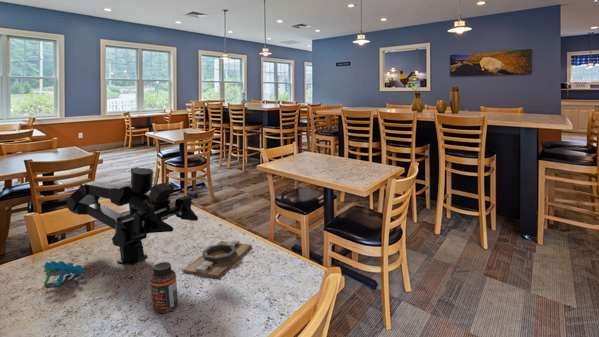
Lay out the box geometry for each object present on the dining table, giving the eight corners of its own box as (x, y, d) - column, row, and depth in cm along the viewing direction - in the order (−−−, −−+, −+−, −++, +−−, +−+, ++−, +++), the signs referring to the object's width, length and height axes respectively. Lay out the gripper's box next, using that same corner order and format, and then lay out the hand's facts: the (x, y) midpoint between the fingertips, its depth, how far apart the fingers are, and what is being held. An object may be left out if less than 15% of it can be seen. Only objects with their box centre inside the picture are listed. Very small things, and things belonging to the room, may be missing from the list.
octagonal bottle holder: (182, 272, 101) (182, 263, 101) (221, 242, 122) (221, 235, 121) (217, 278, 97) (217, 269, 97) (251, 247, 118) (251, 239, 117)
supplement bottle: (147, 313, 82) (143, 270, 79) (161, 299, 87) (157, 258, 85) (170, 315, 81) (166, 272, 78) (182, 301, 87) (179, 260, 84)
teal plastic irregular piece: (93, 268, 100) (67, 257, 92) (86, 289, 97) (59, 279, 89) (61, 270, 102) (33, 260, 94) (53, 291, 99) (24, 281, 91)
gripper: (119, 187, 90) (160, 207, 84) (174, 174, 107) (211, 190, 100) (118, 224, 94) (157, 246, 87) (171, 205, 110) (207, 223, 104)
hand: (185, 224), depth 95 cm, fingers open, 9 cm apart
